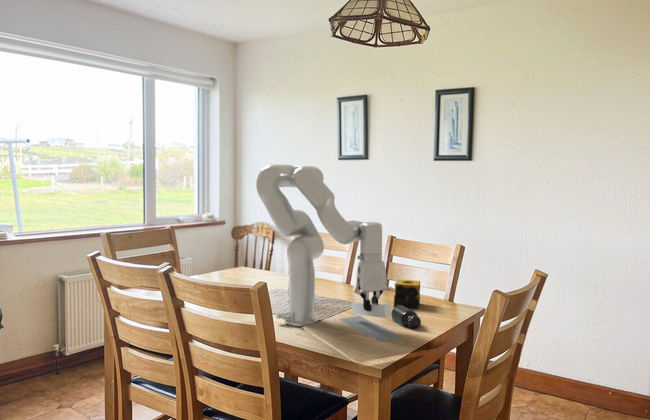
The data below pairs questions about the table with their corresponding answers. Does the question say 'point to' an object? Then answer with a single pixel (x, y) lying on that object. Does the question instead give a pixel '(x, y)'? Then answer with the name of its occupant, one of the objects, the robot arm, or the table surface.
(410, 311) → the supplement bottle
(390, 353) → the table surface
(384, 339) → the board
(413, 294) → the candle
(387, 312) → the metal bar
